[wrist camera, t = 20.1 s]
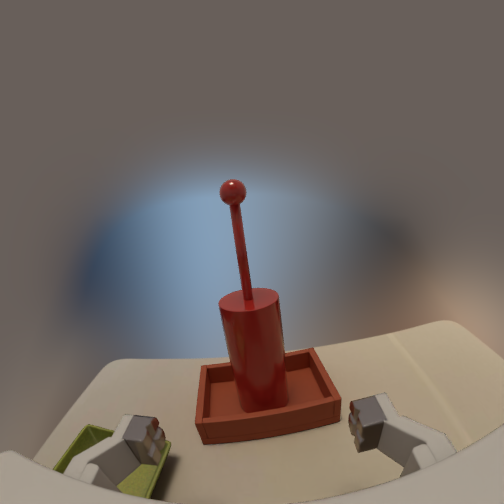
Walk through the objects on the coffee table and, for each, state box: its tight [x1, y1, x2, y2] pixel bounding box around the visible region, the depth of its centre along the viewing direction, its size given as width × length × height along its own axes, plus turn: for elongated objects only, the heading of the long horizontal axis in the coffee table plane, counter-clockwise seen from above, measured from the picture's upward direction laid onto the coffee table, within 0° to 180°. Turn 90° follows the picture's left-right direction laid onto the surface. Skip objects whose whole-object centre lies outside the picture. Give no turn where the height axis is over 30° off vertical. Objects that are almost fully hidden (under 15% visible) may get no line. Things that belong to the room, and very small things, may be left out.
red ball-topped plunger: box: [219, 179, 289, 413], centre depth 20 cm, size 4×4×18 cm
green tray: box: [53, 424, 171, 499], centre depth 13 cm, size 9×9×2 cm
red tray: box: [195, 348, 341, 444], centre depth 22 cm, size 11×8×3 cm
